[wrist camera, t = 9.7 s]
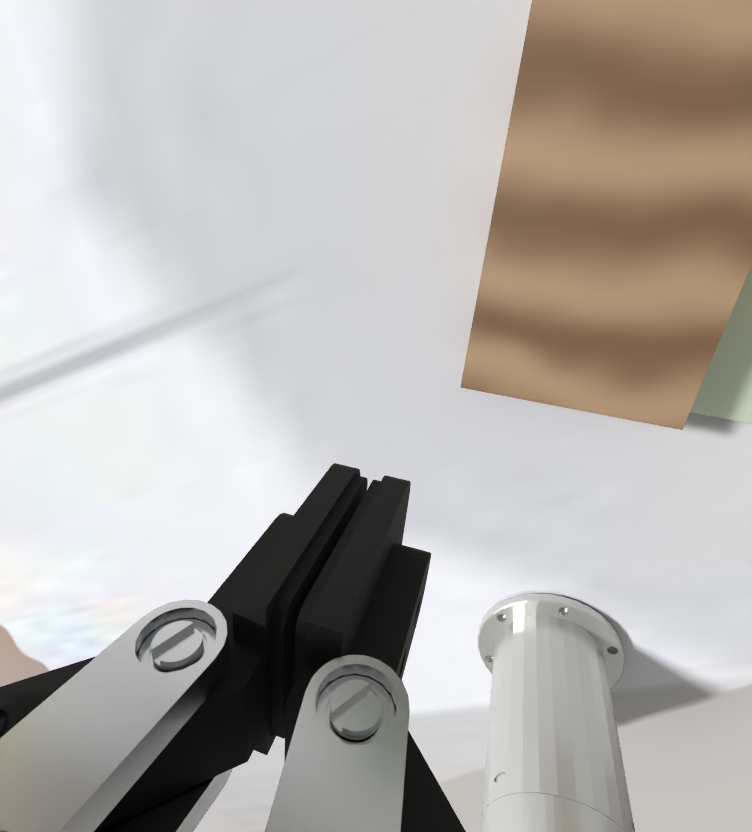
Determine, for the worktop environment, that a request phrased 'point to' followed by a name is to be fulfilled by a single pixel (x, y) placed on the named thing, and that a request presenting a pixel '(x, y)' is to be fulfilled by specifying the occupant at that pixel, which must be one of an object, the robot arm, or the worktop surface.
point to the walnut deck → (619, 208)
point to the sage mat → (731, 366)
